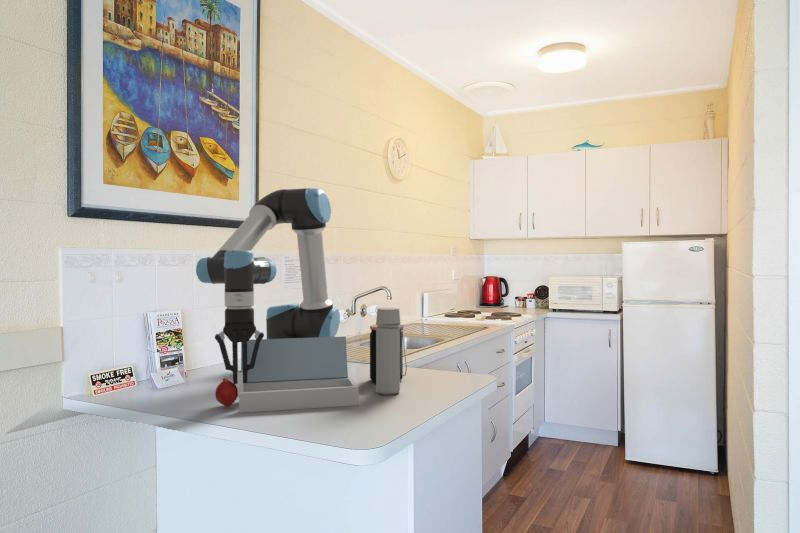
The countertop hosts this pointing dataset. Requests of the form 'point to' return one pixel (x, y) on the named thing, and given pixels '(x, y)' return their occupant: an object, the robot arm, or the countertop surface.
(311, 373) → the cover
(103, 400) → the countertop surface
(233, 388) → the onion
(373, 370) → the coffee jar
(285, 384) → the grey tray
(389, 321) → the water bottle
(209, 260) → the robot arm
